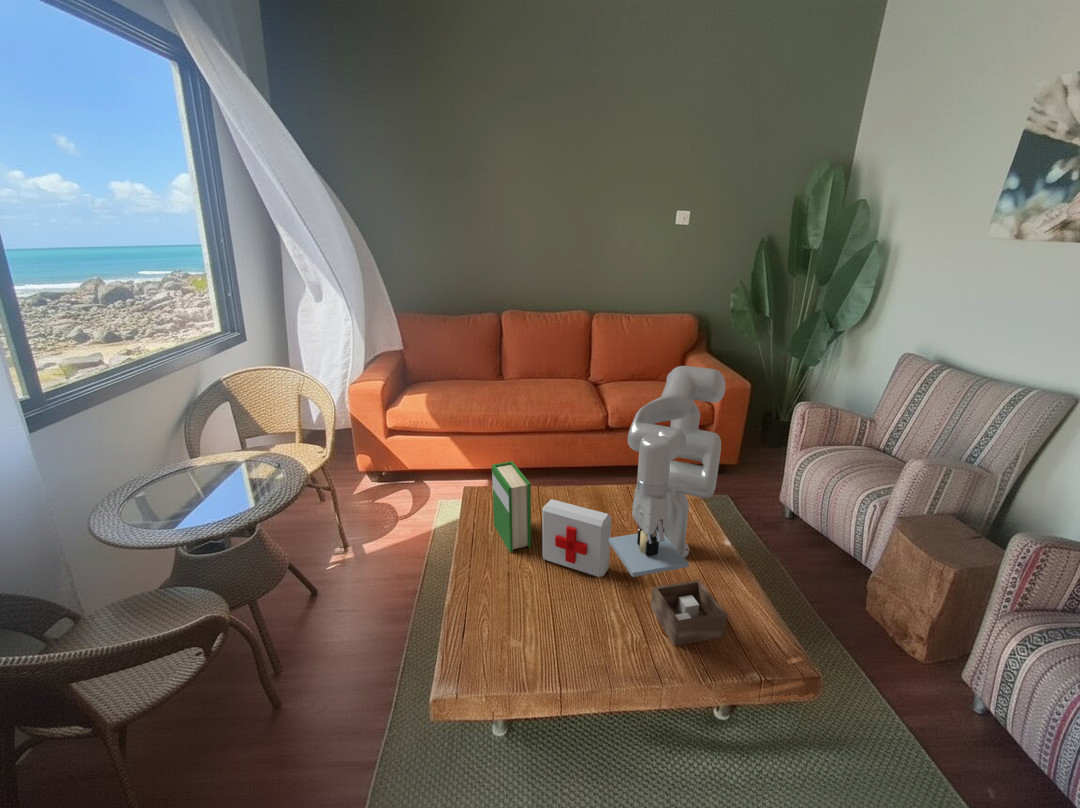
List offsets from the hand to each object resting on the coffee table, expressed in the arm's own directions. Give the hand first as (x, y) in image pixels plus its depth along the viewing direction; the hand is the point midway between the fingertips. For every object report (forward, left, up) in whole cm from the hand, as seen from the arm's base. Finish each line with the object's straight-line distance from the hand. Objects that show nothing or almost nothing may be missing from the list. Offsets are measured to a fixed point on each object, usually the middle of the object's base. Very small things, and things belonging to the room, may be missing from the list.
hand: (647, 548), depth 131 cm
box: (+4, +11, -23) cm, 26 cm away
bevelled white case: (-27, -11, -24) cm, 38 cm away
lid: (0, 0, -2) cm, 2 cm away
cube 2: (+7, +9, -22) cm, 25 cm away
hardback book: (-48, -27, -24) cm, 60 cm away
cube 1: (+1, +13, -22) cm, 26 cm away
